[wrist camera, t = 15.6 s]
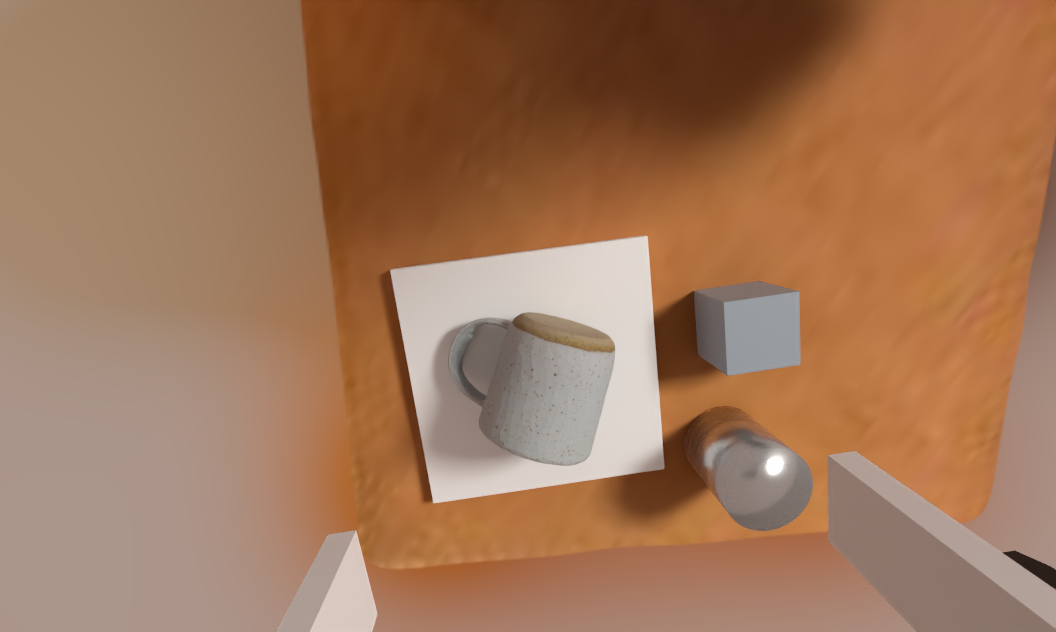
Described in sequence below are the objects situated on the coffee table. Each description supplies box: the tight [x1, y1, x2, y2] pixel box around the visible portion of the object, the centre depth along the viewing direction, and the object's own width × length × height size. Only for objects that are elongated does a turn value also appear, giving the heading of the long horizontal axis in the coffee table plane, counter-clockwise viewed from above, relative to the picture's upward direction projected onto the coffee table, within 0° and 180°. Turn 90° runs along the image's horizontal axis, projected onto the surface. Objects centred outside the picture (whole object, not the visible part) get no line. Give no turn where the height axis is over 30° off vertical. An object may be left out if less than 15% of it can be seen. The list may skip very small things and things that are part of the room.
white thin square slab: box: [390, 236, 665, 503], centre depth 36 cm, size 18×18×1 cm
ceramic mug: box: [448, 312, 615, 466], centre depth 32 cm, size 11×8×8 cm
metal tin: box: [684, 406, 813, 531], centre depth 35 cm, size 6×6×7 cm
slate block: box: [694, 281, 800, 376], centre depth 34 cm, size 5×5×5 cm
